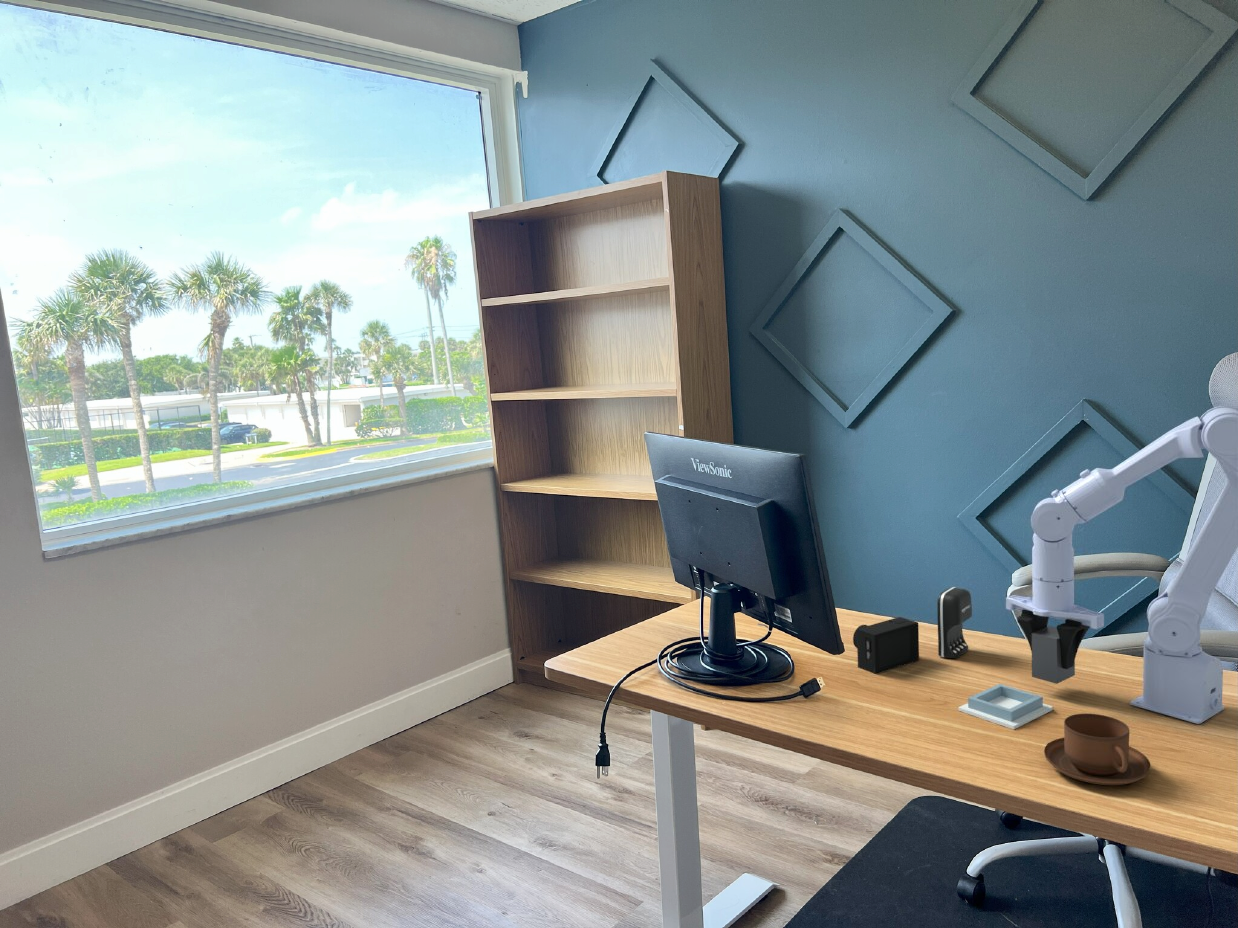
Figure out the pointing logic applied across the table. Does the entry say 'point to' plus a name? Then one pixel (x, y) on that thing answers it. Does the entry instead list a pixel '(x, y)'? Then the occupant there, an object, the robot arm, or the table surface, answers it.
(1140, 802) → the table surface
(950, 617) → the battery charger
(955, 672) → the table surface
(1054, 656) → the plug
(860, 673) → the table surface
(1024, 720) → the socket dock
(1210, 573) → the robot arm
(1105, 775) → the cup and saucer
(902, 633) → the digital camera
